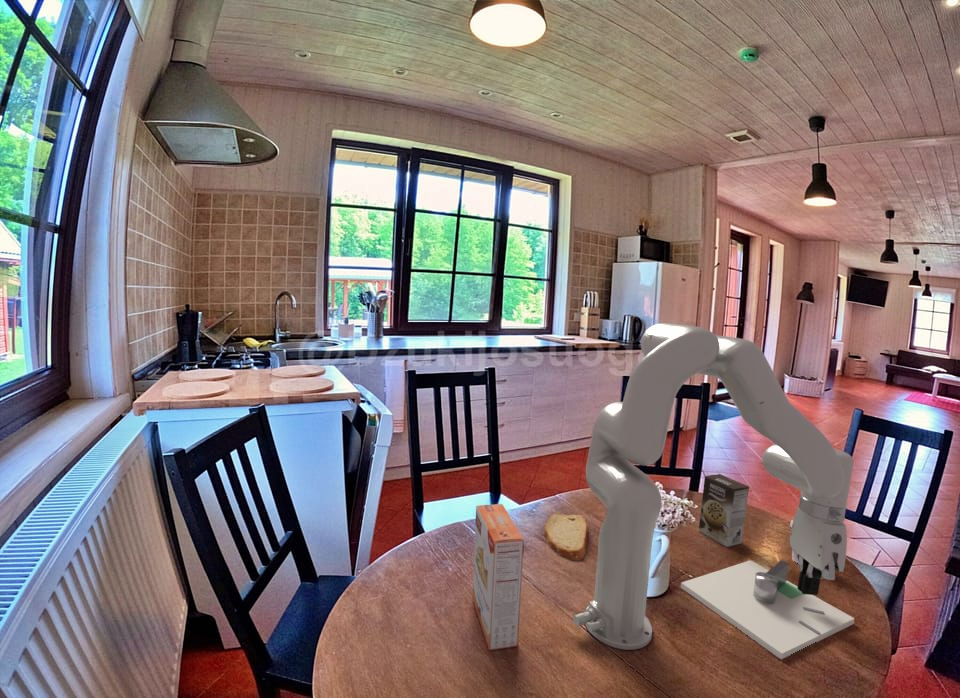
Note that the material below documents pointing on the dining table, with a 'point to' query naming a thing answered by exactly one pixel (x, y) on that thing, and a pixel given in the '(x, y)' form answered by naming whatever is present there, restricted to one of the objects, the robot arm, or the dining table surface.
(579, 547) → the slice of bread
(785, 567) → the tuning lever
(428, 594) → the dining table surface
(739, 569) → the white flat board
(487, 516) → the cracker box
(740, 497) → the cookie box
